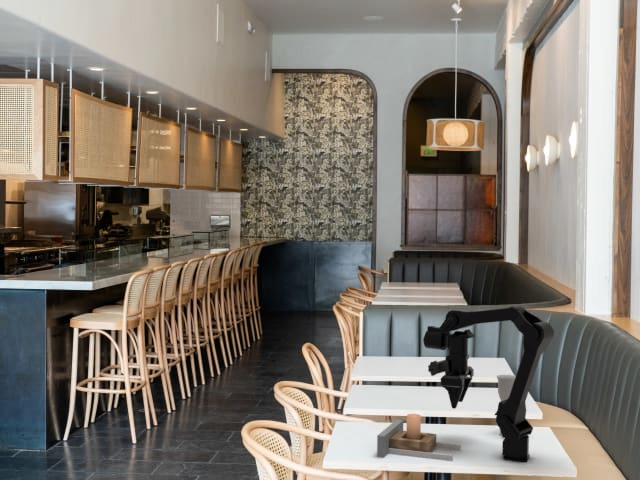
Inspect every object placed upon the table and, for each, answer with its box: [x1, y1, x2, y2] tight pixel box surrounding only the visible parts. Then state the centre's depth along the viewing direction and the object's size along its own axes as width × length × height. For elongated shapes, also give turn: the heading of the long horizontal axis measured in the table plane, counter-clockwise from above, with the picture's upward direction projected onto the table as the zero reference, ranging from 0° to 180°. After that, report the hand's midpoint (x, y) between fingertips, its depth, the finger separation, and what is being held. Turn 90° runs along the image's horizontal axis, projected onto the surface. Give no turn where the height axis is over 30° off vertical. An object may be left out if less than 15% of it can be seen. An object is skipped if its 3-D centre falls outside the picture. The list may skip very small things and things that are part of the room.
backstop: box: [376, 419, 462, 462], centre depth 231 cm, size 20×20×6 cm
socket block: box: [390, 430, 437, 453], centre depth 232 cm, size 11×10×4 cm
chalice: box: [496, 374, 516, 437], centre depth 249 cm, size 7×7×18 cm
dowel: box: [406, 413, 422, 440], centre depth 232 cm, size 4×4×9 cm
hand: (457, 404), depth 237 cm, fingers open, 9 cm apart
